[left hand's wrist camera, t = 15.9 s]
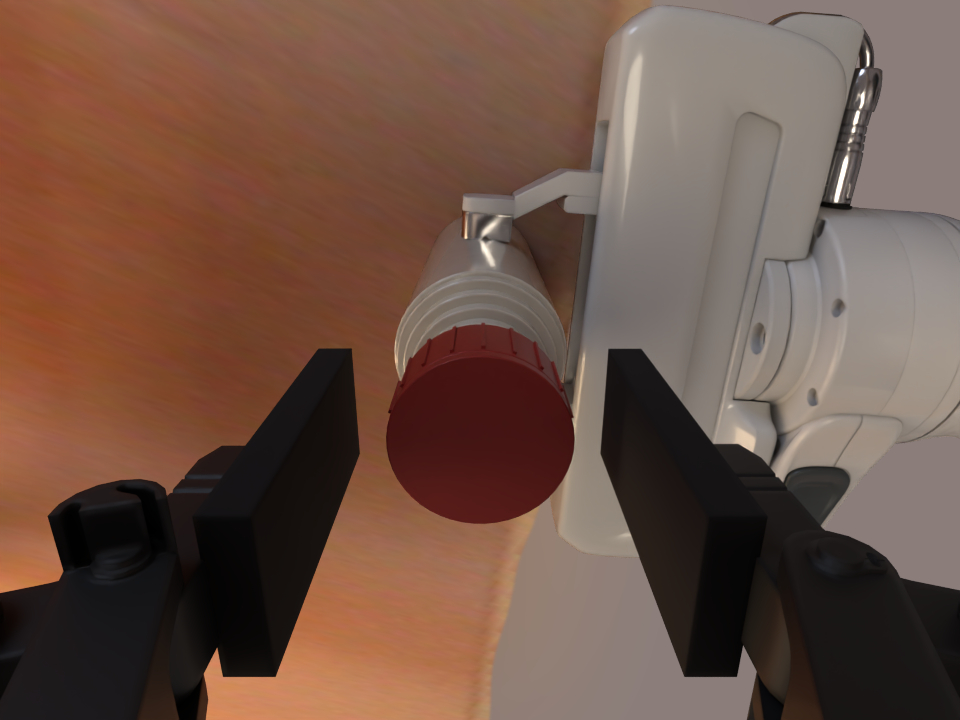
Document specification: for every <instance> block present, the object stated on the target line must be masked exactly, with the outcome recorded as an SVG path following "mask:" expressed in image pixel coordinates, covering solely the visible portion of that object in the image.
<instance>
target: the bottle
mask: <svg viewBox="0 0 960 720" xmlns="http://www.w3.org/2000/svg"><path fill="white" fill-rule="evenodd" d="M461 231H462V217H461V218H458V219H457V220H455V221H453V222H451V223H450V224H449V225H448V226H446V227H445V228H444V229H443V230H442V231H441V233H440V234H439V235H438V237H437V239H436V240H435V242H434V244H433V247H432V249H431V251H430V254H429V256H428V258H427V261H426V263H425V265H424V268H423V270H422V272H421V275H420V277H419V279H418V282H417V284H416V286H415V289H414V291H413V293H412V296H411V298H410V300H409V303H408V305H407V307H406V309H405V312H404V314H403V316H402V319H401V321H400V324H399V326H398V330H397V334H396V338H395V347H394V355H395V364H396V370H397V373H398V376H399V379H400V381H401V380H402V377H403V375H404V372H405V369H406V366H407V362H408V359H409V358H410V357H411V358H413V357H414V355H415V354H416V353H417V352H418V350H420V349H421V348H422V347H423V346H424V345H425V344H426V343H427V340H428V339H429V338H431V339H433V338H434V337H436V336H438V335H440V334H442V333H443V332H446V331H448V330H451V329H452V328H453V327H454V326H456V327H462V326H466V325H475V324H481V323H485V325H494V326H500V327H503V328H507V329H509V328H513V330H514V331H515V332H517V333H520V334H521V335H523V336H525V337H527V338H528V339H530V340H531V341H532V342H534V341H536V342H537V343H538V346H539V348H540V349H541V350H542V351H543V352H544V353H545V354H546V355H547V357H548V358H549V359H550V361H551V362H552V361H554V362H555V365H556V368H557V371H558V374H559V377H560V380H561V379H562V376H563V373H564V370H565V365H566V356H567V347H566V338H565V333H564V329H563V326H562V324H561V321H560V319H559V316H558V314H557V312H556V309H555V307H554V305H553V302H552V300H551V298H550V295H549V293H548V291H547V288H546V286H545V284H544V281H543V279H542V277H541V274H540V272H539V270H538V267H537V265H536V263H535V260H534V258H533V256H532V253H531V251H530V249H529V246H528V244H527V242H526V240H525V238H524V237H523V235H522V234H521V233H520V231H519V230H518V229H517V228H516V227H515V226H513V225H512V230H511V240H510V242H500V241H493V240H490V239H489V238H488V237H486V236H485V237H484V238H482V239H476V240H471V239H465V238H462V237H461Z"/></svg>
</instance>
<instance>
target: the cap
mask: <svg viewBox="0 0 960 720" xmlns="http://www.w3.org/2000/svg"><path fill="white" fill-rule="evenodd" d="M388 413H391V414H390V418H389V422H388V426H387V435H386V443H387V452H388V457H389V461H390V464H391V467H392V470H393V471H394V473H395V475H396V477H397V479H398V481H399V482H400V484H401V485H402V486H403V488H404V489H405V490H406V491H407V492H408V494H409V495H410V496H411V497H412V498H413V499H415V500H416V501H417V502H418V503H419V504H421V505H422V506H424V507H425V508H427V509H428V510H430V511H432V512H434V513H436V514H438V515H440V516H443V517H445V518H448V519H451V520H455V521H460V522H465V523H474V524H486V523H496V522H501V521H506V520H510V519H513V518H516V517H519V516H521V515H523V514H525V513H527V512H529V511H531V510H533V509H534V508H536V507H537V506H539V505H540V504H542V503H543V502H544V501H545V500H546V499H548V498H549V497H550V496H551V495H552V494H553V493H554V491H555V490H556V489H557V488H558V486H559V485H560V484H561V482H562V481H563V479H564V477H565V475H566V474H567V472H568V469H569V467H570V464H571V461H572V457H573V453H574V444H575V435H574V426H573V422H572V418H574V416H573V412H572V409H571V406H570V403H569V400H568V397H567V394H566V391H565V388H564V385H562V383H561V380H560V377H559V374H558V371H557V368H556V365H555V362H554V361H552V362H551V361H550V359H549V358H548V357H547V355H546V354H545V353H544V352H543V351H542V350H541V349H540V348H539V346H538V343H537V342H536V341H534V342H532V341H531V340H530V339H528V338H527V337H525V336H523V335H521V334H520V333H517V332H515V331H514V330H513V328H509V329H507V328H503V327H500V326H494V325H485V323H481V324H475V325H466V326H462V327H456V326H454V327H453V328H452V329H451V330H448V331H446V332H443V333H442V334H440V335H438V336H436V337H434V338H433V339H431V338H429V339H428V340H427V343H426V344H425V345H424V346H423V347H422V348H421V349H420V350H418V352H417V353H416V354H415V355H414V357H413V358H411V357H410V358H409V359H408V362H407V366H406V369H405V372H404V375H403V377H402V380H401V381H398V384H397V387H396V390H395V393H394V396H393V399H392V402H391V405H390V408H389V411H388Z"/></svg>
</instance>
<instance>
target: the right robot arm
mask: <svg viewBox="0 0 960 720" xmlns="http://www.w3.org/2000/svg"><path fill="white" fill-rule="evenodd" d="M858 55H859V57H860V68H855V67H856V63H857V59H858ZM881 86H882V70H881V69H878V68H874V51H873V46H872V43H871V40H870V38H869V36H868V34H867V33H866V31H865V30H864V28H863V26H862V25H861V24H860V23H859V22H857V21H855V20H853V19H851V18H848V17H845V16H842V15H835V14H822V13H809V12H794V13H789V14H786V15H783V16H781V17H778V18H776V19H774V20H773V21H771V22H770V23H768V24H766V23H762V22H758V21H754V20H750V19H746V18H742V17H738V16H733V15H729V14H724V13H719V12H713V11H708V10H702V9H695V8H688V7H681V6H671V5H658V6H653V7H650V8H647V9H644V10H642V11H641V12H639V13H638V14H636V15H635V16H633V17H632V18H630V19H629V20H628V21H627V22H626V23H624V24H623V25H622V26H621V27H620V28H619V29H618V30H617V31H616V32H615V33H614V34H613V35H612V36H611V37H610V39H609V40H608V42H607V44H606V47H605V52H604V59H603V68H602V76H601V84H600V92H599V100H598V108H597V116H596V124H595V132H594V140H593V148H592V156H591V164H590V170H580V169H564V168H559V169H557V170H555V171H553V172H551V173H549V174H547V175H545V176H543V177H541V178H539V179H537V180H535V181H534V182H532V183H530V184H528V185H526V186H524V187H522V188H520V189H518V190H516V191H514V192H512V196H510V195H496V194H481V193H464V195H463V208H462V231H461V237H462V238H465V239H471V240H476V239H482V238H484V237H485V236H486V237H488V238H489V239H490V240H493V241H500V242H510V240H511V230H512V220H513V219H516V218H518V217H520V216H522V215H524V214H526V213H528V212H530V211H532V210H535V209H537V208H539V207H541V206H543V205H545V204H547V203H549V202H551V201H553V200H555V199H557V204H558V205H559V206H560V207H561V208H562V209H563V210H564V211H565V212H567V213H575V214H584V221H583V229H582V237H581V245H580V253H579V261H578V269H577V278H576V286H575V294H574V302H573V310H572V318H571V326H570V334H569V342H568V350H567V358H566V366H565V374H564V383H562V385H564V388H565V391H566V394H567V397H568V400H569V403H570V406H571V409H572V412H573V416H574V418H572V422H573V426H574V435H575V444H574V453H573V457H572V461H571V464H570V467H569V469H568V472H567V474H566V475H565V477H564V479H563V481H562V482H561V484H560V485H559V486H558V488H557V489H556V490H555V491H554V493H553V494H552V495H551V496H550V501H551V507H552V514H553V518H554V523H555V527H556V531H557V533H558V535H559V536H560V537H561V538H562V539H563V540H564V541H566V542H567V543H568V544H570V545H571V546H572V547H574V548H575V549H577V550H578V551H580V552H582V553H585V554H590V555H598V556H609V557H629V558H639V555H638V552H637V550H636V547H635V544H634V542H633V539H632V536H631V534H630V531H629V528H628V526H627V523H626V520H625V518H624V515H623V512H622V510H621V507H620V505H619V502H618V499H617V497H616V494H615V491H614V489H613V486H612V483H611V481H610V478H609V475H608V473H607V470H606V467H605V465H604V462H603V459H602V457H601V454H600V451H601V438H602V425H603V412H604V399H605V386H606V373H607V360H608V349H642V350H643V351H644V353H645V354H646V355H647V357H648V358H649V359H650V361H651V362H652V363H653V365H654V366H655V367H656V369H657V370H658V371H659V373H660V374H661V375H662V377H663V378H664V379H665V381H666V382H667V383H668V385H669V386H670V387H671V389H672V390H673V391H674V393H675V394H676V395H677V397H678V398H679V399H680V401H681V402H682V403H683V405H684V406H685V407H686V409H687V410H688V411H689V412H690V414H691V415H692V416H693V418H694V419H695V420H696V422H697V423H698V424H699V426H700V427H701V428H702V430H703V431H704V432H705V434H706V435H707V436H708V438H709V439H710V440H711V442H712V443H713V444H739V445H741V446H743V447H744V448H746V449H748V450H749V451H751V452H753V453H754V454H756V455H758V456H759V457H761V458H762V459H763V460H764V461H765V462H766V463H767V465H768V466H769V467H770V468H771V469H772V470H773V471H774V473H775V474H776V477H779V478H780V480H781V481H782V482H783V483H784V484H785V485H786V486H787V490H788V491H791V492H792V493H793V494H794V496H795V497H796V498H797V499H798V500H799V501H800V502H801V504H802V505H803V506H804V507H805V508H806V509H807V511H808V512H809V513H810V514H811V515H812V516H813V517H814V519H815V520H816V521H817V522H818V523H819V524H820V525H821V527H822V528H823V529H824V528H825V527H826V525H827V524H828V522H829V521H830V519H831V518H832V517H833V515H834V514H835V513H836V511H837V510H838V508H839V507H840V506H841V504H842V503H843V502H844V501H845V499H846V498H847V497H848V495H849V494H850V493H851V492H852V490H853V489H854V488H855V487H856V485H857V484H858V483H859V482H860V481H861V479H862V478H863V477H864V476H865V475H866V474H867V473H868V472H869V470H870V469H871V468H872V467H873V466H874V465H875V464H876V463H877V462H878V461H879V460H880V459H881V458H882V457H883V456H884V455H885V454H886V453H887V452H888V451H889V450H890V449H891V448H892V447H893V445H894V444H895V443H906V442H914V441H919V440H924V439H929V438H935V437H957V438H960V221H959V220H956V219H954V218H951V217H947V216H944V215H939V214H934V213H925V212H910V211H895V210H880V209H866V208H856V207H852V206H850V203H851V199H852V196H853V192H854V189H855V185H856V181H857V177H858V174H859V170H860V166H861V161H862V157H863V153H862V151H863V150H864V144H863V142H865V136H864V135H865V134H866V131H867V127H866V126H868V123H869V120H870V117H871V113H872V112H874V111H875V108H876V106H877V103H878V99H879V96H880V91H881Z"/></svg>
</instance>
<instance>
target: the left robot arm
mask: <svg viewBox="0 0 960 720" xmlns="http://www.w3.org/2000/svg"><path fill="white" fill-rule="evenodd" d="M359 454H360V451H359V438H358V425H357V412H356V399H355V386H354V373H353V360H352V349H318V350H317V351H316V353H315V354H314V355H313V357H312V358H311V359H310V361H309V362H308V363H307V365H306V366H305V367H304V369H303V370H302V371H301V373H300V374H299V375H298V377H297V378H296V379H295V381H294V382H293V383H292V385H291V386H290V387H289V389H288V390H287V391H286V393H285V394H284V395H283V397H282V398H281V399H280V401H279V402H278V403H277V405H276V406H275V407H274V409H273V410H272V411H271V412H270V414H269V415H268V416H267V418H266V419H265V420H264V422H263V423H262V424H261V426H260V427H259V428H258V430H257V431H256V432H255V434H254V435H253V436H252V438H251V439H250V440H249V442H248V443H247V444H246V446H221V447H219V448H218V449H216V450H214V451H213V452H211V453H209V454H208V455H206V456H204V457H203V458H201V459H199V460H198V461H197V463H196V464H195V465H194V466H193V467H192V468H191V469H190V471H189V472H188V473H187V474H186V475H185V479H182V480H181V481H180V482H179V483H178V484H177V486H176V487H175V488H174V489H173V493H170V494H169V495H168V496H167V495H166V490H165V488H164V487H162V486H161V485H160V484H158V483H157V482H153V481H148V480H143V479H133V480H119V481H115V482H110V483H106V484H101V485H97V486H95V487H92V488H90V489H87V490H84V491H82V492H79V493H77V494H75V495H73V496H72V497H70V498H68V499H67V500H65V501H63V502H62V503H60V504H59V505H58V506H57V507H56V508H55V509H54V510H53V511H52V512H51V513H50V514H49V515H48V519H49V523H50V526H51V530H52V533H53V536H54V540H55V543H56V547H57V550H58V554H59V557H60V561H61V564H62V567H63V571H64V572H63V574H62V576H61V578H60V580H59V581H56V582H53V583H48V584H43V585H39V586H34V587H29V588H24V589H19V590H14V591H9V592H4V593H0V720H206V712H207V704H208V695H207V688H206V683H205V678H204V672H205V670H206V668H207V666H208V664H209V662H210V660H211V658H212V656H213V654H214V652H215V650H216V649H217V648H218V653H219V658H220V664H221V669H222V674H223V677H276V674H277V672H278V669H279V666H280V664H281V661H282V658H283V656H284V653H285V650H286V648H287V645H288V642H289V640H290V637H291V635H292V632H293V629H294V627H295V624H296V621H297V619H298V616H299V613H300V611H301V608H302V605H303V603H304V600H305V597H306V595H307V592H308V589H309V587H310V584H311V581H312V579H313V576H314V574H315V571H316V568H317V566H318V563H319V560H320V558H321V555H322V552H323V550H324V547H325V544H326V542H327V539H328V536H329V534H330V531H331V528H332V526H333V523H334V520H335V518H336V515H337V512H338V510H339V507H340V505H341V502H342V499H343V497H344V494H345V491H346V489H347V486H348V483H349V481H350V478H351V475H352V473H353V470H354V467H355V465H356V462H357V459H358V457H359ZM600 454H601V457H602V459H603V462H604V465H605V467H606V470H607V473H608V475H609V478H610V481H611V483H612V486H613V489H614V491H615V494H616V497H617V499H618V502H619V505H620V507H621V510H622V512H623V515H624V518H625V520H626V523H627V526H628V528H629V531H630V534H631V536H632V539H633V542H634V544H635V547H636V550H637V552H638V555H639V558H640V560H641V563H642V565H643V568H644V571H645V573H646V576H647V579H648V581H649V584H650V587H651V589H652V592H653V595H654V597H655V600H656V603H657V605H658V608H659V611H660V613H661V616H662V618H663V621H664V624H665V627H666V629H667V632H668V634H669V637H670V640H671V642H672V645H673V648H674V650H675V653H676V656H677V658H678V661H679V664H680V666H681V669H682V672H683V674H684V676H685V677H737V674H738V669H739V664H740V658H741V653H742V648H743V645H744V647H745V649H746V651H747V653H748V655H749V657H750V659H751V661H752V663H753V665H754V667H755V669H756V671H757V673H756V678H755V683H754V688H753V693H752V698H751V702H750V707H749V712H748V717H747V720H960V590H955V589H950V588H945V587H940V586H935V585H930V584H925V583H920V582H915V581H911V580H907V579H903V578H900V577H899V575H898V572H897V571H896V569H895V568H894V567H893V565H892V564H891V563H890V562H889V560H888V559H887V558H886V557H885V556H883V555H882V554H880V553H879V552H878V551H876V550H875V549H873V548H872V547H870V546H869V545H867V544H865V543H862V542H860V541H858V540H856V539H854V538H851V537H849V536H845V535H842V534H838V533H834V532H830V531H825V530H824V529H823V528H822V527H821V525H820V524H819V523H818V522H817V521H816V520H815V519H814V517H813V516H812V515H811V514H810V513H809V512H808V511H807V509H806V508H805V507H804V506H803V505H802V504H801V502H800V501H799V500H798V499H797V498H796V497H795V496H794V494H793V493H792V492H791V491H788V490H787V486H786V485H785V484H784V483H783V482H782V481H781V480H780V478H779V477H776V474H775V473H774V471H773V470H772V469H771V468H770V467H769V466H768V465H767V463H766V462H765V461H764V460H763V459H762V458H761V457H759V456H758V455H756V454H754V453H753V452H751V451H749V450H748V449H746V448H744V447H743V446H741V445H739V444H713V443H712V442H711V440H710V439H709V438H708V436H707V435H706V434H705V432H704V431H703V430H702V428H701V427H700V426H699V424H698V423H697V422H696V420H695V419H694V418H693V416H692V415H691V414H690V412H689V411H688V410H687V409H686V407H685V406H684V405H683V403H682V402H681V401H680V399H679V398H678V397H677V395H676V394H675V393H674V391H673V390H672V389H671V387H670V386H669V385H668V383H667V382H666V381H665V379H664V378H663V377H662V375H661V374H660V373H659V371H658V370H657V369H656V367H655V366H654V365H653V363H652V362H651V361H650V359H649V358H648V357H647V355H646V354H645V353H644V351H643V350H642V349H608V360H607V373H606V386H605V399H604V412H603V425H602V438H601V451H600Z"/></svg>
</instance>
